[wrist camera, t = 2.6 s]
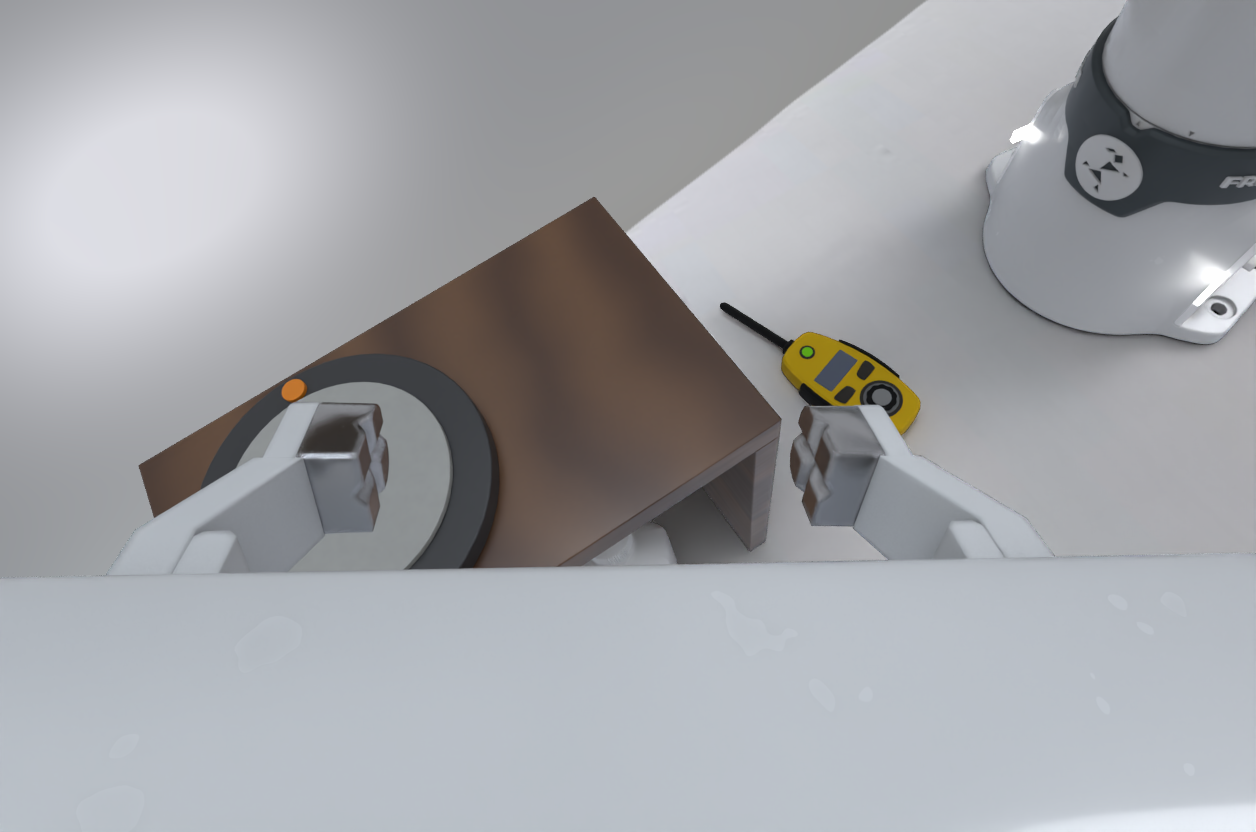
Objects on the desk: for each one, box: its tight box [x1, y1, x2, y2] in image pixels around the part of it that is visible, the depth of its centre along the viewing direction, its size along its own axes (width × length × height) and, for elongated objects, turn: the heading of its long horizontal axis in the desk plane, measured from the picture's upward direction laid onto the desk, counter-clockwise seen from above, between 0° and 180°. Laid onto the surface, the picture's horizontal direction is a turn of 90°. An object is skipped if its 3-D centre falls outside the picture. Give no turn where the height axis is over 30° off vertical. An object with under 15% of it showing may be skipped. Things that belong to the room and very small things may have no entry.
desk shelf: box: [139, 197, 781, 568], centre depth 36 cm, size 23×14×18 cm, turn 122°
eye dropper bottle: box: [583, 522, 677, 566], centre depth 37 cm, size 4×6×12 cm
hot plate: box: [200, 354, 499, 572], centre depth 27 cm, size 12×12×1 cm
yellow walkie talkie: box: [720, 303, 920, 435], centre depth 46 cm, size 5×2×15 cm
